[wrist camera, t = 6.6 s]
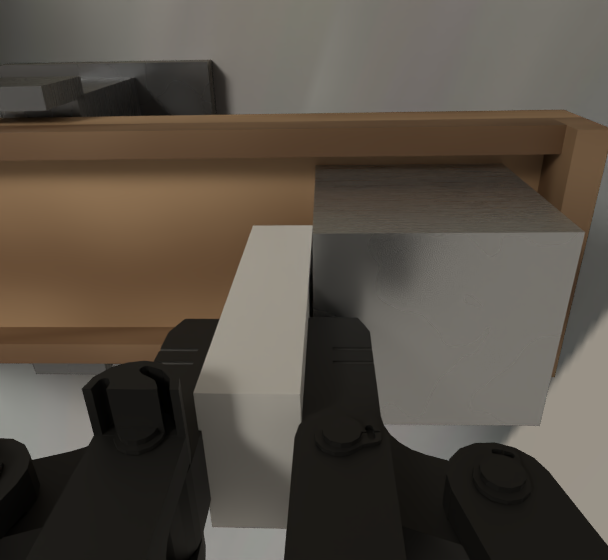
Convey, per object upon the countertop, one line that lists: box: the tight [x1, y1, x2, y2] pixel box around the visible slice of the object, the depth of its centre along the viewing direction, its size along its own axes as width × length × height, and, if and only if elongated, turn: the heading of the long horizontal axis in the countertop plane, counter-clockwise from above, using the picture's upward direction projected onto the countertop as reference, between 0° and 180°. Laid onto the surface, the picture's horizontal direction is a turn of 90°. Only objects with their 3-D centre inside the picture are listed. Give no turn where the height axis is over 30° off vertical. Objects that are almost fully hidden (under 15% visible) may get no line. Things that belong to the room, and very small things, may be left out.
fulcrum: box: [0, 60, 216, 374], centre depth 19 cm, size 9×8×8 cm
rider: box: [312, 164, 585, 426], centre depth 13 cm, size 5×5×5 cm
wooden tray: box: [0, 110, 608, 377], centre depth 16 cm, size 7×30×3 cm, turn 91°
